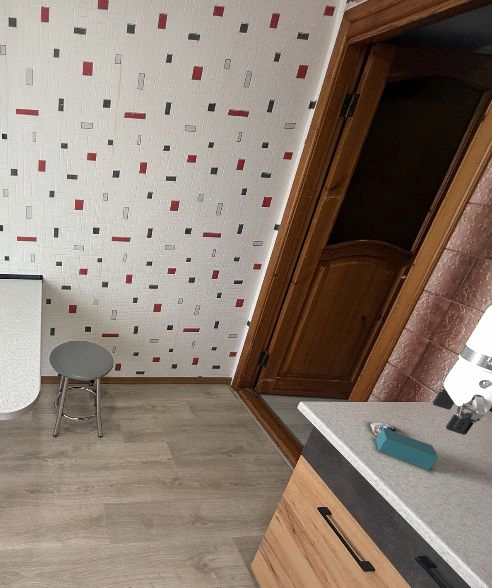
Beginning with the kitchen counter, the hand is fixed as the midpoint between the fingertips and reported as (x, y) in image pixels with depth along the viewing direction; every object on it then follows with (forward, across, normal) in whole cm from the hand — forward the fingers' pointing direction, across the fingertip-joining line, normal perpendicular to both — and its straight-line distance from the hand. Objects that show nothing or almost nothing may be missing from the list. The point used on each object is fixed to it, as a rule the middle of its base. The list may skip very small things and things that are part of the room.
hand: (447, 418), depth 79 cm
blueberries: (+14, +7, +6) cm, 17 cm away
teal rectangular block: (+12, 0, +4) cm, 13 cm away
